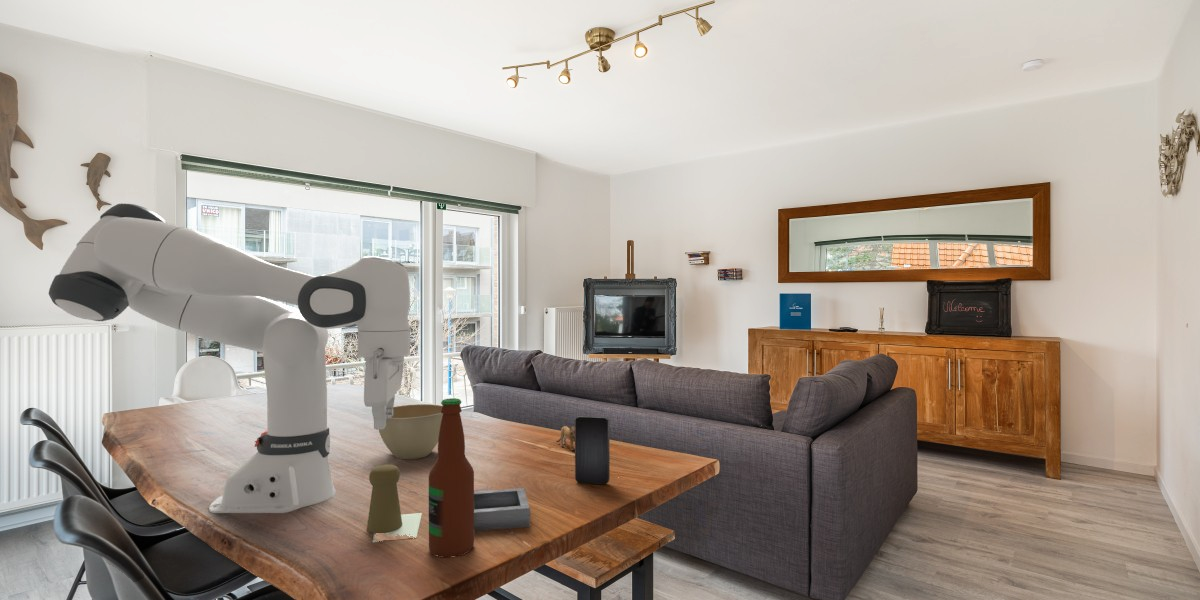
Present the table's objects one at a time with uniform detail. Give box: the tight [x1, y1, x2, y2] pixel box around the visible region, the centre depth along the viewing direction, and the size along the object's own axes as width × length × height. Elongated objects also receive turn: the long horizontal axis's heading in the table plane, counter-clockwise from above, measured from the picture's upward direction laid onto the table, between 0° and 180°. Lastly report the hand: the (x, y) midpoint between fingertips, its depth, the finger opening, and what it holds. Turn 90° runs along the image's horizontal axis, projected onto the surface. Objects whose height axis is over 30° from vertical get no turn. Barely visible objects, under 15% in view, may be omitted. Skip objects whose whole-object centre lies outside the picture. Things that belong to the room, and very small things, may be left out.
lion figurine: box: [556, 425, 575, 451], centre depth 160 cm, size 12×4×7 cm, turn 44°
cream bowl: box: [378, 403, 443, 460], centre depth 151 cm, size 18×18×12 cm
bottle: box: [428, 397, 475, 558], centre depth 94 cm, size 7×7×25 cm
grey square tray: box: [474, 487, 531, 532], centre depth 108 cm, size 11×11×4 cm
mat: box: [372, 512, 423, 543], centre depth 102 cm, size 12×12×1 cm
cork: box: [366, 464, 402, 534], centre depth 103 cm, size 6×6×11 cm
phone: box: [574, 415, 611, 486], centre depth 128 cm, size 8×1×15 cm, turn 78°
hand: (384, 422), depth 102 cm, fingers open, 8 cm apart
